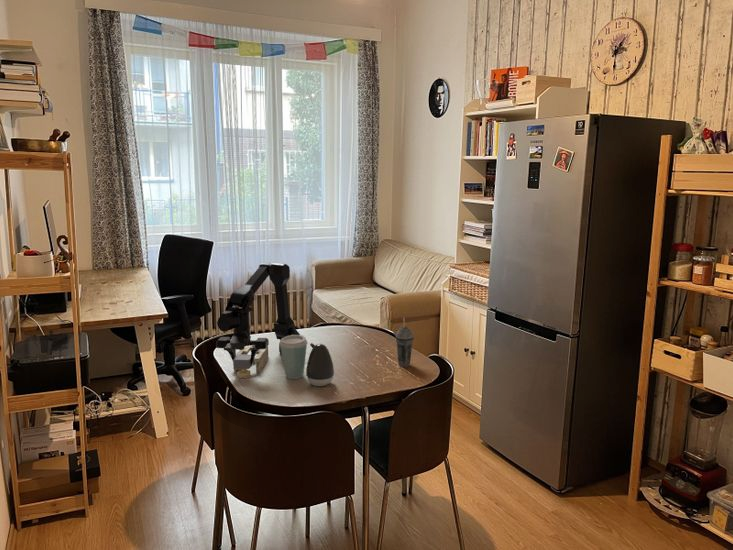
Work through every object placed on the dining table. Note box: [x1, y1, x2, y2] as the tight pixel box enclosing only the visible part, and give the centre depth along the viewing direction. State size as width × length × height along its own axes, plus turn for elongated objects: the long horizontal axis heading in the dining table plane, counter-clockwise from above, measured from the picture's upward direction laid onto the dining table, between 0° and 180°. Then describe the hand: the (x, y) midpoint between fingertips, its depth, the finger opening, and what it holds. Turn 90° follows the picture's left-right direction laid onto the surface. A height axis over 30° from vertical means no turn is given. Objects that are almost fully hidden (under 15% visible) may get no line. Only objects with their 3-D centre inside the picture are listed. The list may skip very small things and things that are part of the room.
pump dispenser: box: [305, 342, 335, 387], centre depth 210 cm, size 10×10×15 cm
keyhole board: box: [233, 345, 269, 373], centre depth 230 cm, size 10×16×6 cm, turn 177°
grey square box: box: [232, 353, 254, 378], centre depth 218 cm, size 6×6×7 cm
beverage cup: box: [395, 317, 414, 368], centre depth 230 cm, size 7×7×20 cm
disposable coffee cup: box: [278, 334, 308, 380], centre depth 218 cm, size 11×11×15 cm
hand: (243, 364), depth 218 cm, fingers closed on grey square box, 6 cm apart
